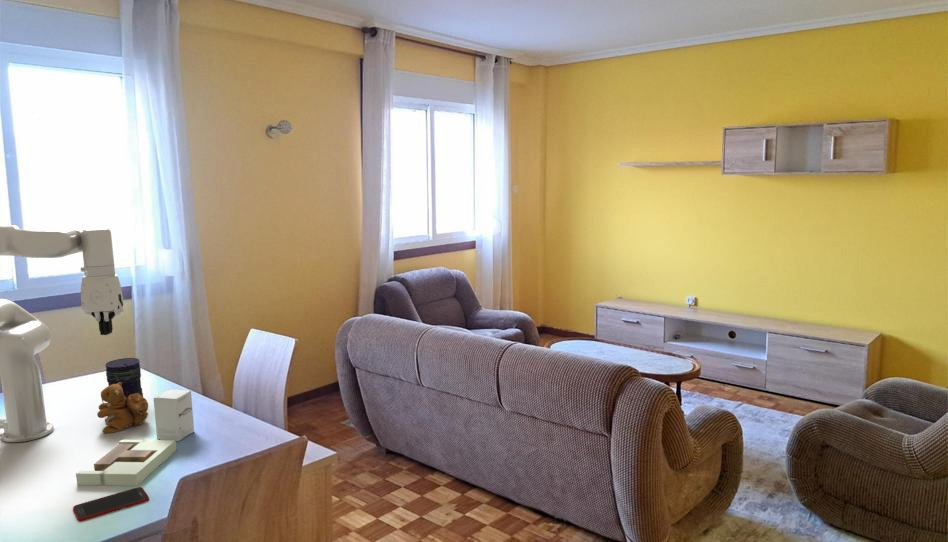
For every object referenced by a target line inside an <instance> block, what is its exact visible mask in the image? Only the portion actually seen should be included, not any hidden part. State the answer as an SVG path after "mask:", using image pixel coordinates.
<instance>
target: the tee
mask: <svg viewBox="0 0 948 542" xmlns="http://www.w3.org/2000/svg"><path fill="white" fill-rule="evenodd" d="M133 447H134V444H119V443H118V444H117V445H116V446H115V447H114V448H112V449H111V450H110V451H108V452H107V453H106V454H105V455H104V456H102V457H101V458H99V460H97V461H96V462H95V463H94V464H93V468H94V470H93V471H104V470H105V469H107V468H108V467H109V466H110V465H112V464H113V463H114V462H145V461H146V460H147V459H148V458H149V457H151V456H152V455H153V450H131V449H132V448H133Z"/></svg>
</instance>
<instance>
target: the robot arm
mask: <svg viewBox="0 0 948 542" xmlns="http://www.w3.org/2000/svg"><path fill="white" fill-rule="evenodd" d="M112 237H113V236H112V232H111V230H110V229H109V228H107V227H102V226H101V227H98V226H97V227H96V226H95V227H87V228H86V227H79V226H68V227H62V228H57V229H54V230H33V229H32V230H30V229H29V230H28V229H20V227H19V226H17V225H14V224H0V256H5V257H6V256H12V257H13V256H14V257H18V258H19V257H21V258H31V259H33V258H35V259H39V258H42V259H45V258H46V259H56V258H63V257H66V256H70V255H75V254H78V253H82V260H83V267H80V272H82V273H84V276H81V283H80V305H81V306H80V307H81V310H82V311H84V314H86V315H89V316H92V317H93V318H95V321H96V322H98V330H99V333H100V336H108V335H111V334H112V333H113V329H114V328H113V319H114V317H116V316H117V315H121V314H123V313H124V309H123V307H124V297H123V291H122V285H121V282H120V279H119V276H118V274H116V270H115V269H116V268H115V260H114V250H113V239H112ZM0 333H1V334H0V384H1V388H2V399H3V405H4V411H5V418H4V419H2V418H1V419H0V430H1V429H3V431H4V432H3V433H2V434H1V439H2V441H3V442H6V443H23V442H28V441H29V442H30V441H33V440H36V439H37V440H38V439H41V438H43V437H45V436H48V435H49V434H50V433H52V432H53V431H54V428H55V427H54V424H53V423H51V422H47V415H46V407H45V406H46V405H45V398H44V390H43V388H44V387H43V382H42V381H43V380H42V375H41V369H40V366H39V364H38V362H37V359H36V358H35V357H36V356H35V355H37V354H38V353H40V352H42V351H44V350H45V349H46V348H47V347H49V345H50V343H51V341H52V332H51V331H50V329H49V327H48V325H46V323H44V322H43V321H41V320H40V319H38V318H37V317H36V316H34V315H33V314H31V313H30V312H29V311H27V310H26V309H24V307H21V306H20V305H19V304H17V303H16V302H14V301H12V300H9V299H5V298H0Z"/></svg>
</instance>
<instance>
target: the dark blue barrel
mask: <svg viewBox="0 0 948 542" xmlns="http://www.w3.org/2000/svg"><path fill="white" fill-rule="evenodd" d="M140 363H141V362H140V359H139V358H136V357H125V358H117V359H114V360H110V361H108V362H106V363H105V371H106V372H105V376H106V381H107V383H108V385H107V386H110V385H113V384H117V383H119V382H121V383H122V386H121V387H122V389H123V393H124V396H125V397H126V398H128V396H129V395H131V394H136V393H138V394H140V395H142V396H143V397H144V392H143V388H142V382H141V377H142V374H141V373H142V372H141V364H140Z"/></svg>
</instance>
